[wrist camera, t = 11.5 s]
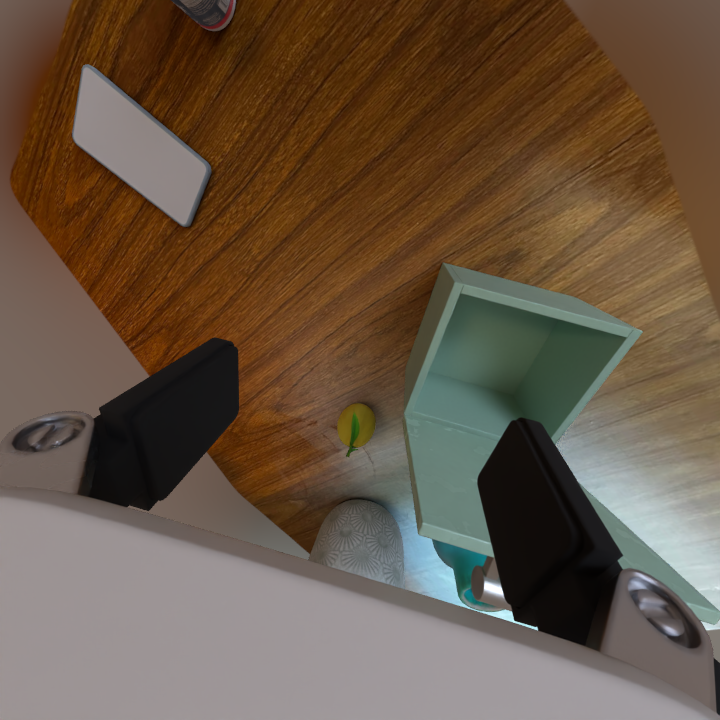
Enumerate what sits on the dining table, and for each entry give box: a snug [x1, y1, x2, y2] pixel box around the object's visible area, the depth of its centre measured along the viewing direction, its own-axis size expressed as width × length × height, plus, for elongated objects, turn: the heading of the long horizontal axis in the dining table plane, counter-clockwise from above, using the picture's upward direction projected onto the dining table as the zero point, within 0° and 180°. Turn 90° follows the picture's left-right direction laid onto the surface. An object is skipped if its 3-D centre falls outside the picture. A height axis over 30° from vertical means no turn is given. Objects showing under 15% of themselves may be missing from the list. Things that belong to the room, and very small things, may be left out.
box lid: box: [402, 415, 720, 625], centre depth 23 cm, size 15×16×6 cm
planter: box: [309, 499, 405, 589], centre depth 50 cm, size 17×17×15 cm
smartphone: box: [72, 65, 211, 227], centre depth 32 cm, size 8×1×15 cm
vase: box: [432, 539, 505, 612], centre depth 37 cm, size 11×11×19 cm
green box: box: [404, 263, 643, 444], centre depth 31 cm, size 15×16×11 cm
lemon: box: [337, 403, 376, 457], centre depth 40 cm, size 7×6×10 cm
